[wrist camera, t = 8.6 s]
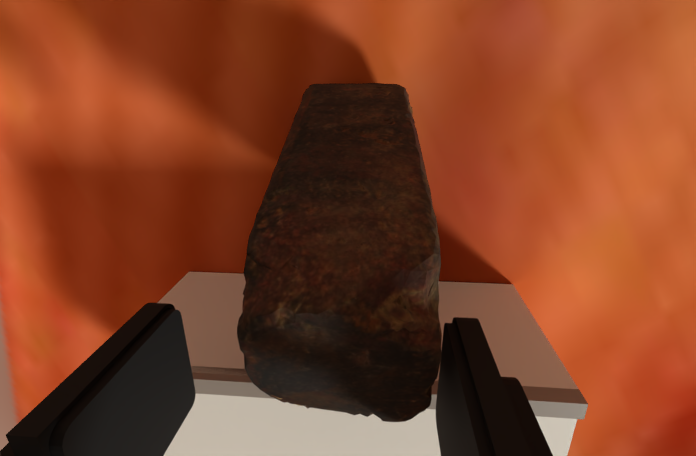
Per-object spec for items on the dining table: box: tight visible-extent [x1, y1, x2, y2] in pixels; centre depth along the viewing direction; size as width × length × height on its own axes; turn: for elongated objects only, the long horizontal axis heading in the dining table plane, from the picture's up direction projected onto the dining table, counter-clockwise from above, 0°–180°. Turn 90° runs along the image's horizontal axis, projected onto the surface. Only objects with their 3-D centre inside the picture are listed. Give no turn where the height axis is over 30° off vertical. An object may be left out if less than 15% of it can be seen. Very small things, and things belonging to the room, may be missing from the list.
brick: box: [237, 83, 442, 422], centre depth 12 cm, size 11×4×5 cm
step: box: [157, 272, 588, 456], centre depth 17 cm, size 16×8×7 cm, turn 91°
